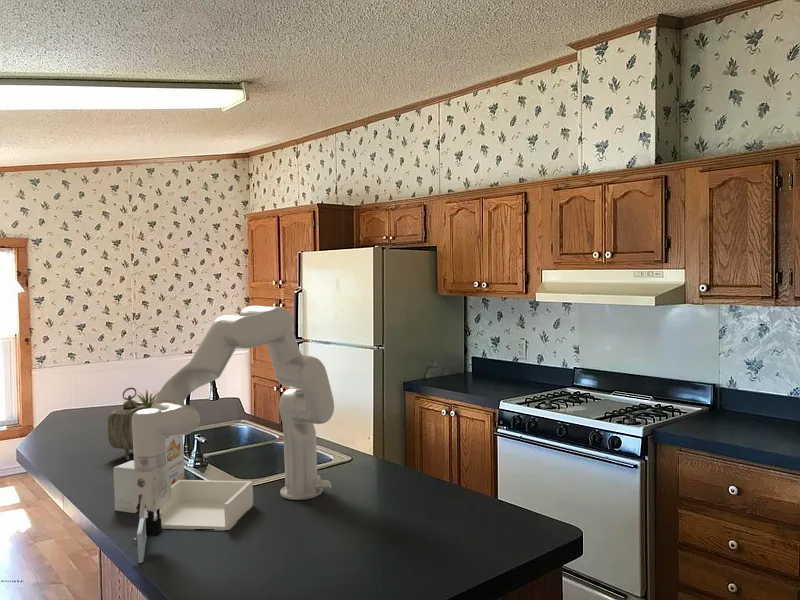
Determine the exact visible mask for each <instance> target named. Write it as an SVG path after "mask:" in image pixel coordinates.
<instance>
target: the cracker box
mask: <svg viewBox="0 0 800 600" xmlns="http://www.w3.org/2000/svg"><path fill="white" fill-rule="evenodd" d="M184 447H185V446H184V435H181V436H168V437H166V448H167V464H168V468H169V473H170V481H171V485H173V484H174V483H175V482H177V481H178V480H186V479H185V455H184V454H185V451H184V450H185V448H184Z"/></svg>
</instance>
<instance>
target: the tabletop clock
mask: <svg viewBox="0 0 800 600" xmlns="http://www.w3.org/2000/svg"><path fill="white" fill-rule="evenodd" d="M130 390H133V391H134V394H133V395H127V396H128V397H125V393H127V392H128V391H130ZM136 394H137V389H136V388H134V387H128V388H125V390H124V391H122V398H123V400H126V401H124V402H123V404H122V407H120V408H118V409H115V410H112V412H110V413H108V417H107V434H108V435H107V436H108V442H109V444H110V446H111V447H112V448H113V449H119V450H120V449H121V450H123V449H124V455H125V457H124V459H125V460H126V461H130V458H131V456H130V453H131V452H130V451H129V450H133V431H132V416H133V414H134V413H135V412H136V411H138V410H142V409H149V408H151V407H149V406H143V405H142V406H138V404H137V403H136V402H137V401H136V400H134V399H135V397H137V395H136Z"/></svg>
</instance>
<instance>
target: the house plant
mask: <svg viewBox="0 0 800 600" xmlns="http://www.w3.org/2000/svg"><path fill="white" fill-rule="evenodd" d="M159 392H160V391H158V392H157V391H155V393H156V394H155V395H154V396H153V394H152V393H150V394H149V391H148V390H147V389H146V391H145V396H144V395H143V394H142V393H141V392H139V394H140V395H139V394H137V393H136V396H135V397H134V399H137V397H138V398H139V399H140V400H139V401H140V403H139V402H137V401H136V403H137V404H138V406H149V407H151V406H152V404H153V402H154V401H155V399H156V397H157V395H158V394H159ZM152 396H153V397H152Z"/></svg>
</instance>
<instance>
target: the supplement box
mask: <svg viewBox="0 0 800 600" xmlns="http://www.w3.org/2000/svg"><path fill="white" fill-rule="evenodd" d="M112 469H113V490H114V491H113V493H114V510H115V511H118V512H123V513H124V512H125V513H131V514H136V513H138V511H136V509H135V502H134V482H135V471H136V470H135V469H134V459H133V460H128V461H127V462H124V463H122V464H119V465H116V466H114V467H113V468H112Z"/></svg>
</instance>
